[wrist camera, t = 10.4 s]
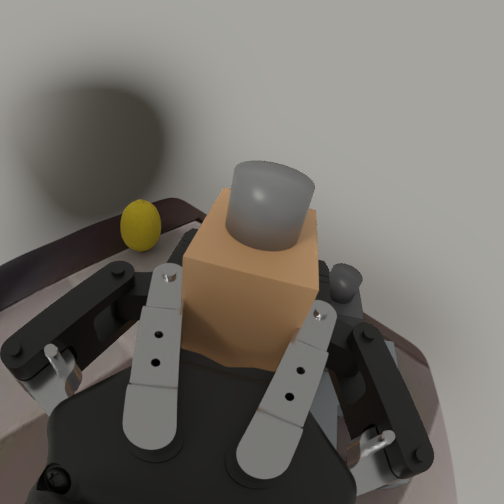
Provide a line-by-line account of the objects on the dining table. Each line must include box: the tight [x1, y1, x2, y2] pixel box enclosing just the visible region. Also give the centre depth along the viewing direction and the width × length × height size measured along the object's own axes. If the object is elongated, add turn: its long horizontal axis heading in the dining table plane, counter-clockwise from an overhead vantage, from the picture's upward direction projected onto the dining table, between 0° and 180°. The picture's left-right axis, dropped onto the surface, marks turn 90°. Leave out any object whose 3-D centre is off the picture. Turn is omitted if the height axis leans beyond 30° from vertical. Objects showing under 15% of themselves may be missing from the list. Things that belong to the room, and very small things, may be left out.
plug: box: [181, 161, 319, 372], centre depth 13 cm, size 4×5×13 cm
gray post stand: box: [310, 263, 410, 490], centre depth 21 cm, size 14×17×12 cm
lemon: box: [121, 199, 161, 252], centre depth 37 cm, size 6×6×8 cm
